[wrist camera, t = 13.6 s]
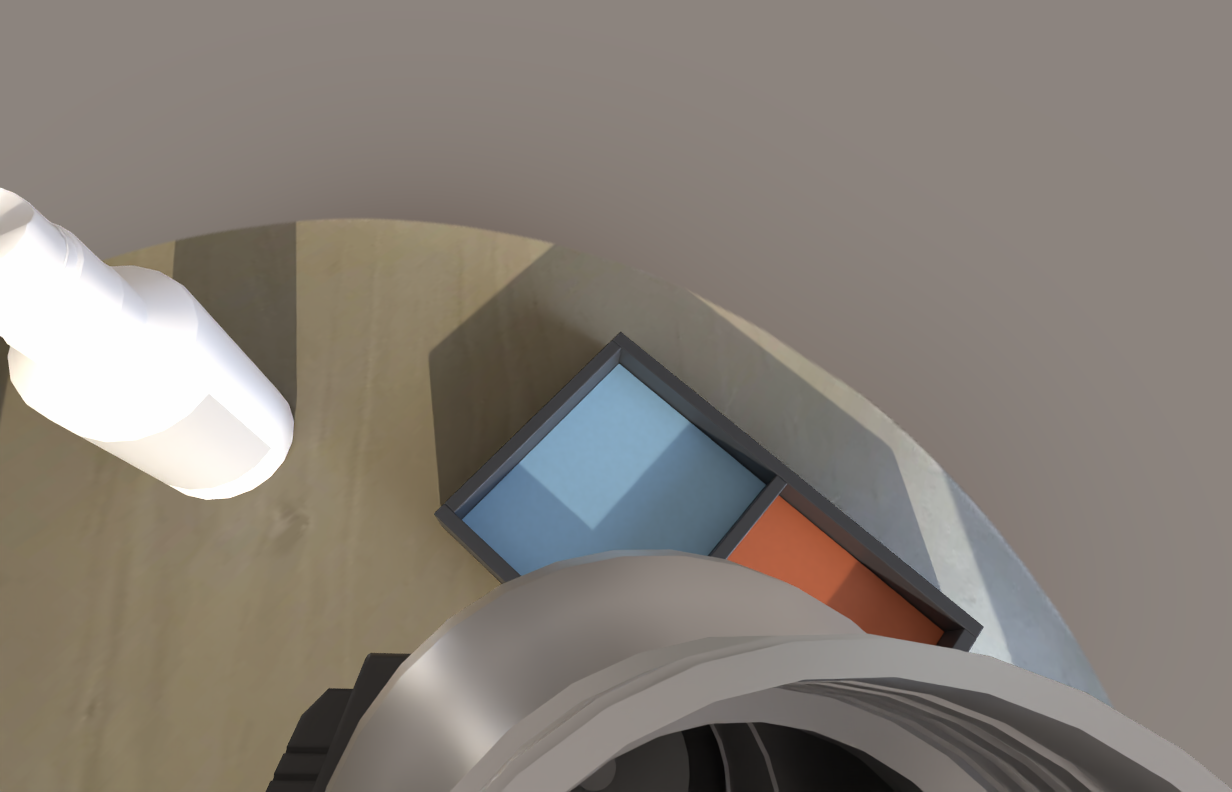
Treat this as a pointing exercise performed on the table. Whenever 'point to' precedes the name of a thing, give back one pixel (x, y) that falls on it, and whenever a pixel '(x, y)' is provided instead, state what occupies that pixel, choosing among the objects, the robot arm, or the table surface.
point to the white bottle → (133, 363)
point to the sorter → (680, 501)
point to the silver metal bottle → (725, 699)
